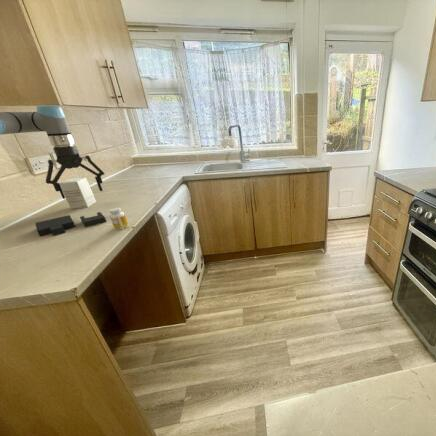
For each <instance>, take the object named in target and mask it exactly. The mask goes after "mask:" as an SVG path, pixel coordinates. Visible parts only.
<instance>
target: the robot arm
mask: <svg viewBox="0 0 436 436" xmlns="http://www.w3.org/2000/svg"><path fill="white" fill-rule="evenodd" d="M35 108H36V111H0V136H1V135H2V136H3V135H11V134H27V133H40V132H45V133H46V135H47V137H48V140H49V142H50V145H51V146H52V147H53V152H54V155H55V156H56V159H50V158H49V159H47V163H48V167H47V172H46V177H45V183H46V184H50V185H52V186H53V188H54V190H55V192H59V193H60V195H61V198H62V199H63V200H64V199H66V198H65V196H64V193H63V191H62V189H61V187H60V184H59V183H60V182H59V180H60V178H61V176H62V175H63V173H64V171H66V169H68V170H70V169H77V168H79V167H80V168H83V169H84V170H86V171H88V172H89V173H91V174H93V175H94V179H95V182H96V185H97V188H98V190H99V191H100V192H103V191H104V190H103V187H102V185H101V184H103V180H102V176H103V175H105V172H104V171H103V170H102V169H101V168H100V167H99V166H98V165H97V164H96V163H95V162H94V161H93V160H92V159H91V157H90V155H87V154H86V155H84V156H83V155H82V156H81V155H80V153H79V150H78V147H77V146H76V143H75V139H74V137H73V134H72V132H71V129H70V126H69V124H68V120H67V117H66V115H65V112H64V111H63V109H62V107H61V106H60V105H36V107H35ZM83 160H84V161H85V162H88V163H89V164H90V165H91V166H92V167H93V168H94V169H95V170H96V171H97V172H96V171H94V170H93V169H91V168H90V167H88V166H86V165H85V164H83V163H82V162H83ZM57 163H58V164H59V165H60V167H59V169H58V171H57V172H56V174H55V175H54V177H53V179H52V175H53V171H54V166H56V164H57Z"/></svg>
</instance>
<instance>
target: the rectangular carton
mask: <svg viewBox="0 0 436 436" xmlns="http://www.w3.org/2000/svg"><path fill="white" fill-rule="evenodd" d="M58 183H59V184H60V187H61V189H62V191H63V194H64V196H65V198H64V199H65V200H66V202H67V204H68V206H69V208H70V210H75V209H76V210H77V209H85V208H90V207H91V206H93V205H94V204H96V203H97V200H96V197H95V195H94V193H93V191H92V188H91V186H90V183H89V181H88V179H87V177H76V178H68V179H66V180H63V181H61V182H58Z"/></svg>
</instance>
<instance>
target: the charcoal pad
mask: <svg viewBox="0 0 436 436" xmlns="http://www.w3.org/2000/svg"><path fill="white" fill-rule="evenodd" d="M35 228H36V232H37V234H38V236H39V237H44V236H47V235H51V234H52V236H53V237H54V236H58V235H62V234H65V233H66V230H69V229H73V228H76V224H75V222H74V220H73V218H72V217H71V215H70V214H68V215H64V216H59V217H55V218H51V219H47V220H42V221H37V222H35Z"/></svg>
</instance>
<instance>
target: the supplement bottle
mask: <svg viewBox="0 0 436 436" xmlns="http://www.w3.org/2000/svg"><path fill="white" fill-rule="evenodd" d="M109 213H110V215H109V220H110V221H111V224H112V226H113V229H114V231H123V230H127V229H128V228H129V227H130V225H129V223H128V219H127V217H126V214H125V212H123V211H122V209H121V207H114V208H110V209H109Z"/></svg>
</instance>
